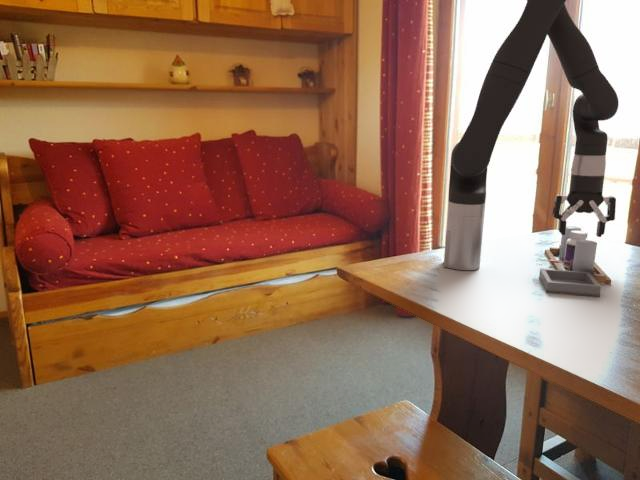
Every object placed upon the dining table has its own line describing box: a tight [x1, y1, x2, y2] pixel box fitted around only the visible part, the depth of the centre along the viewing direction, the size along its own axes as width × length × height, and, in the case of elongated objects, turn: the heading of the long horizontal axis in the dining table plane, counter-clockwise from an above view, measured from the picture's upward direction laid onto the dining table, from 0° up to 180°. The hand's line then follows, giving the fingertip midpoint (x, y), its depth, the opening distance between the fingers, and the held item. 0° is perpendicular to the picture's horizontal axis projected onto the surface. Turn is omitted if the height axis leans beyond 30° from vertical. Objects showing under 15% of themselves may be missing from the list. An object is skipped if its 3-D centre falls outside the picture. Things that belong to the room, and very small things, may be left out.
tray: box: [538, 268, 602, 298], centre depth 120 cm, size 11×11×2 cm
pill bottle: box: [563, 230, 588, 270], centre depth 135 cm, size 5×5×10 cm
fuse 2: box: [572, 239, 598, 271], centre depth 127 cm, size 5×5×9 cm
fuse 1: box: [558, 225, 582, 261], centre depth 143 cm, size 5×5×9 cm
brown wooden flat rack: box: [544, 245, 612, 286], centre depth 136 cm, size 12×26×3 cm, turn 166°
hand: (580, 235), depth 134 cm, fingers open, 8 cm apart
